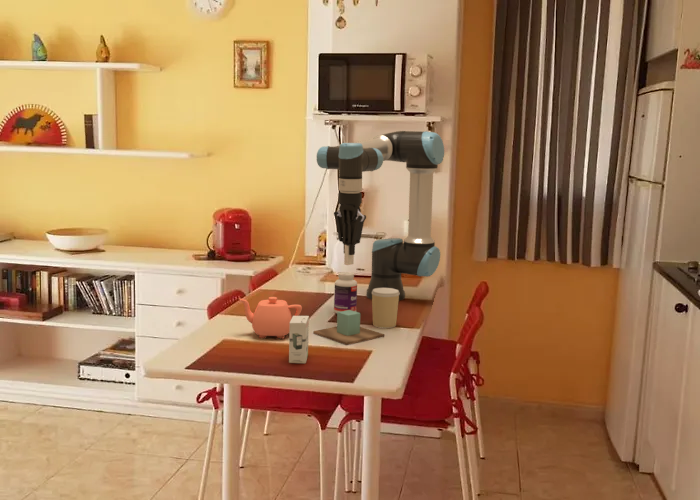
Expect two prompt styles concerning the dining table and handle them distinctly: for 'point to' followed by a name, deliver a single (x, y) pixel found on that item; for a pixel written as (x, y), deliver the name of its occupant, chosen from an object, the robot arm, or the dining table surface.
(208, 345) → the dining table surface
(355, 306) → the pill bottle
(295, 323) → the ink box
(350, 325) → the teal green block
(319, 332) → the post stand
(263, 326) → the teapot
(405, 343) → the dining table surface
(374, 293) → the coffee cup
